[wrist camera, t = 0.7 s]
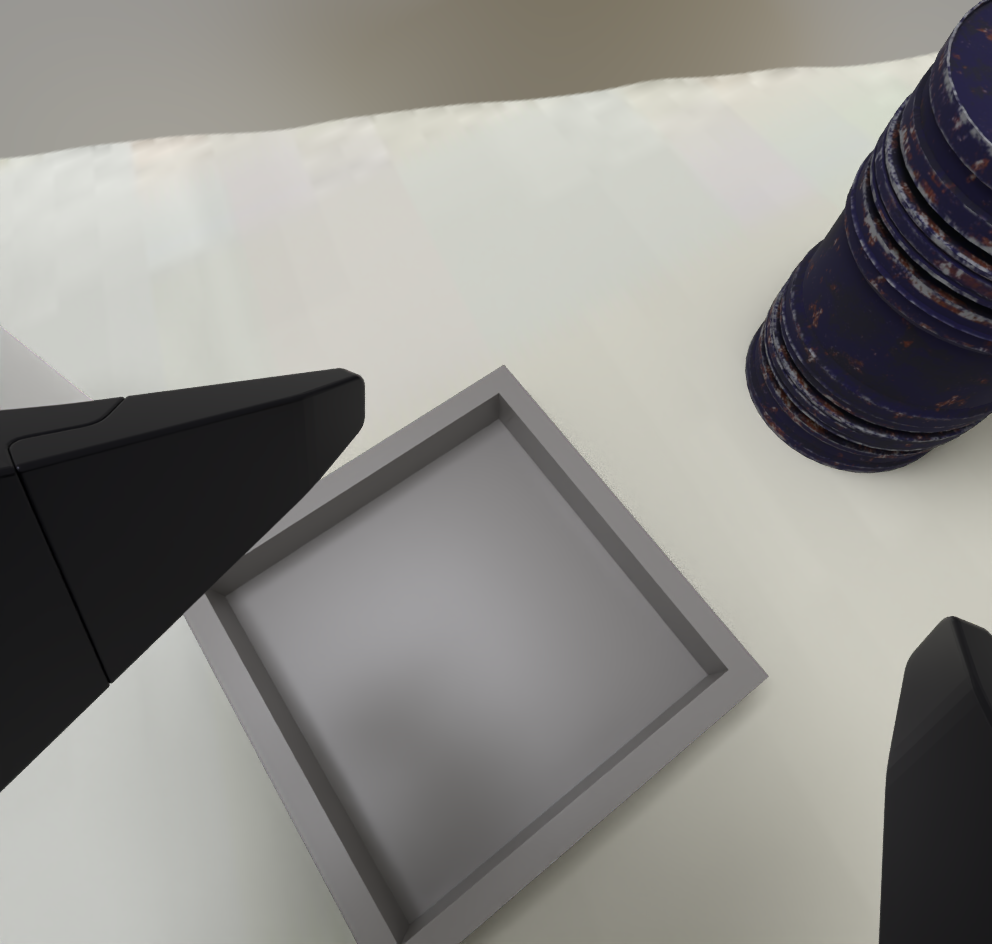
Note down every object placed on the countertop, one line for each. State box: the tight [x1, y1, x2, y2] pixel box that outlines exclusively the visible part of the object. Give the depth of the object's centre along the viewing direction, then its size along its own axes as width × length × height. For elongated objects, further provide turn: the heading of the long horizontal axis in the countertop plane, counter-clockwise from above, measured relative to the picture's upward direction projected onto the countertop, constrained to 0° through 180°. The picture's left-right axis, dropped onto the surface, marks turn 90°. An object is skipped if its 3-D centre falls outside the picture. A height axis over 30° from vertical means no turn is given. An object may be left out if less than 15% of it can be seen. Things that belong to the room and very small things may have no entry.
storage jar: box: [745, 0, 992, 473], centre depth 24 cm, size 10×10×15 cm
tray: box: [183, 365, 769, 944], centre depth 25 cm, size 16×16×3 cm
